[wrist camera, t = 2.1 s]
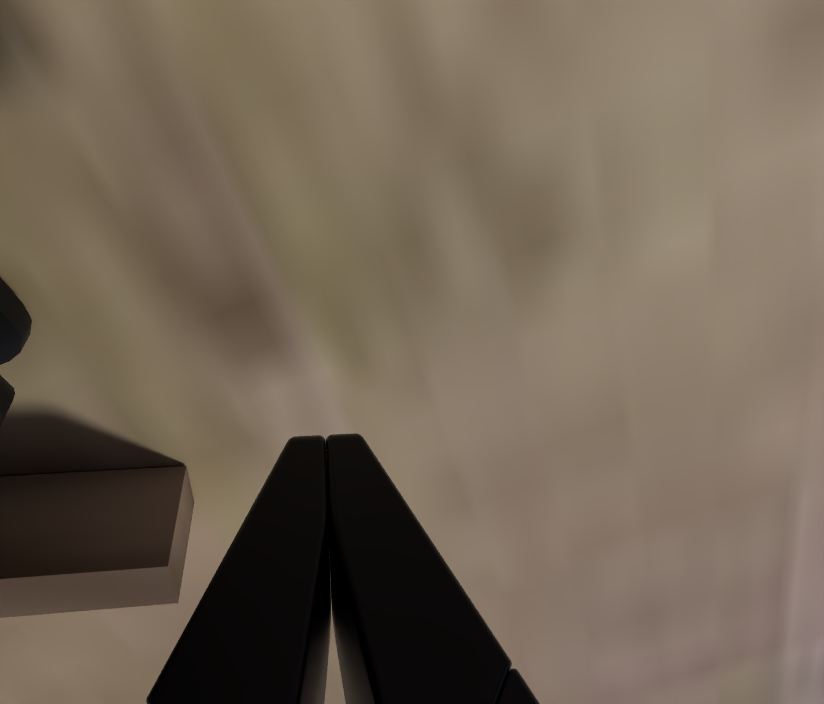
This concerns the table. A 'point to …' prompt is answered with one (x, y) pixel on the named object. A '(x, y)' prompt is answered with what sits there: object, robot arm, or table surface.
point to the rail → (93, 539)
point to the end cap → (11, 338)
